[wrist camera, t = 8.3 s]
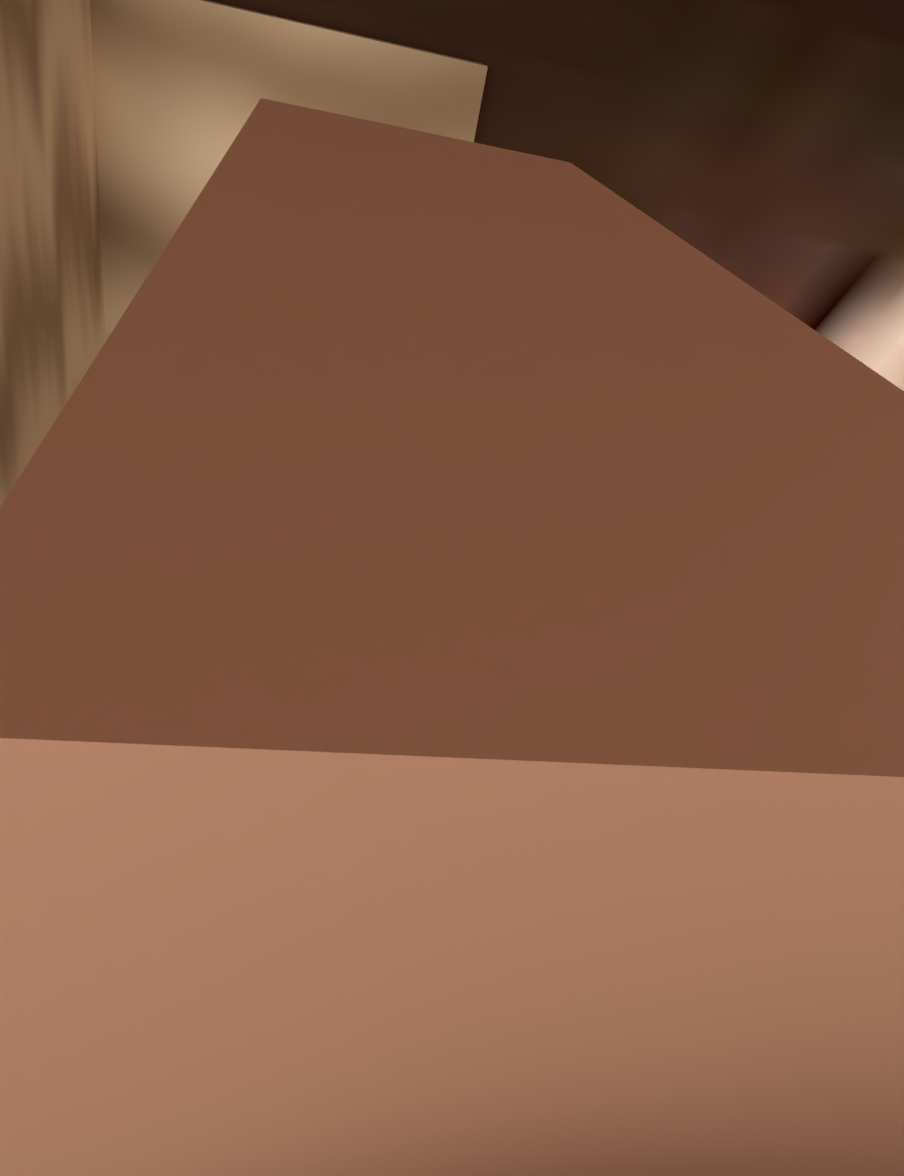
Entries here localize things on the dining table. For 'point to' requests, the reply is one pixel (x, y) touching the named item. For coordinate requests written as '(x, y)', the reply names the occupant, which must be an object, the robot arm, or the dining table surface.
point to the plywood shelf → (151, 156)
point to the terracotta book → (452, 699)
